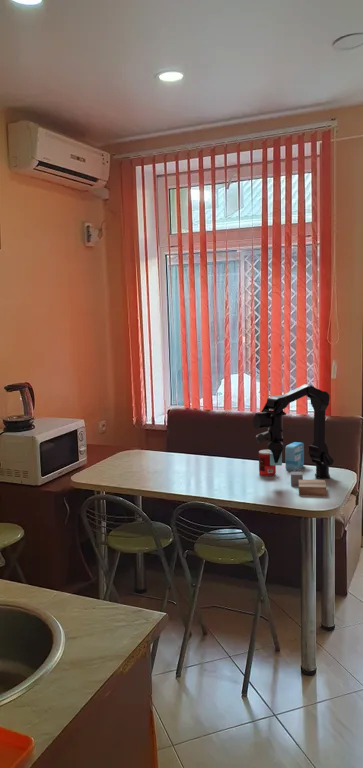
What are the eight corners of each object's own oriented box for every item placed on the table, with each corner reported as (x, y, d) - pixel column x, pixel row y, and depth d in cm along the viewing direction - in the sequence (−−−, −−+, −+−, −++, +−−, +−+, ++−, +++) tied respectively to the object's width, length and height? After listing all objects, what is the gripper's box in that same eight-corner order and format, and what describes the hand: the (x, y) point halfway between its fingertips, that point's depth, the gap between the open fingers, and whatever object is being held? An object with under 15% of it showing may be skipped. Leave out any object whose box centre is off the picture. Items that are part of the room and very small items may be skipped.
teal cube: (270, 462, 255) (270, 451, 255) (281, 462, 254) (281, 451, 254) (270, 465, 250) (269, 453, 250) (281, 465, 250) (281, 454, 249)
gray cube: (290, 482, 258) (290, 471, 258) (302, 482, 258) (302, 471, 257) (291, 485, 253) (291, 474, 253) (302, 486, 253) (302, 474, 252)
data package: (294, 471, 277) (293, 446, 275) (285, 470, 279) (285, 445, 278) (304, 466, 287) (304, 442, 285) (295, 465, 289) (295, 441, 288)
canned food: (278, 473, 275) (278, 450, 273) (271, 477, 268) (271, 453, 267) (263, 471, 279) (263, 448, 278) (256, 475, 272) (256, 452, 271)
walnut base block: (298, 488, 250) (298, 479, 250) (324, 489, 248) (324, 480, 248) (299, 496, 239) (298, 486, 239) (326, 497, 237) (326, 487, 237)
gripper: (257, 422, 261) (258, 456, 263) (255, 430, 243) (256, 466, 245) (282, 422, 259) (283, 456, 261) (282, 430, 241) (283, 467, 243)
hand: (276, 461), depth 252 cm, fingers closed on teal cube, 5 cm apart
